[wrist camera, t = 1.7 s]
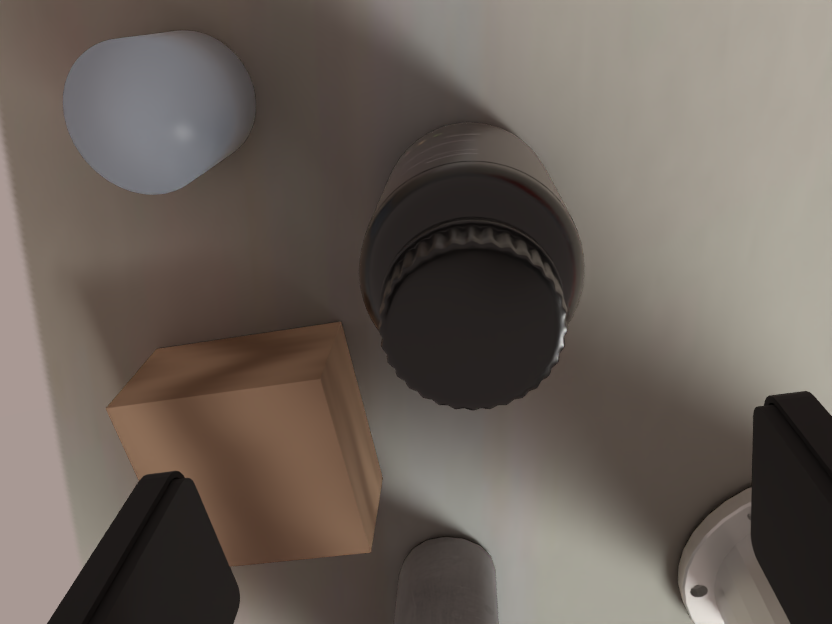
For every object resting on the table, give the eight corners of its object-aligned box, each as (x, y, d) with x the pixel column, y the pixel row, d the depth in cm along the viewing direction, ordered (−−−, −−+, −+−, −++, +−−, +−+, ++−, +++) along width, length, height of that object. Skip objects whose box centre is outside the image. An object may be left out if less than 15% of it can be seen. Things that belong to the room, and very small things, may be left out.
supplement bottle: (581, 227, 28) (658, 377, 17) (442, 305, 30) (431, 485, 19) (497, 81, 25) (525, 145, 15) (352, 175, 27) (282, 295, 17)
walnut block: (341, 321, 30) (320, 378, 26) (382, 478, 34) (371, 552, 29) (156, 348, 31) (105, 408, 27) (216, 497, 35) (180, 571, 31)
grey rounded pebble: (233, 18, 25) (184, 23, 21) (271, 149, 27) (233, 181, 23) (111, 44, 26) (37, 54, 21) (157, 171, 28) (98, 205, 23)
